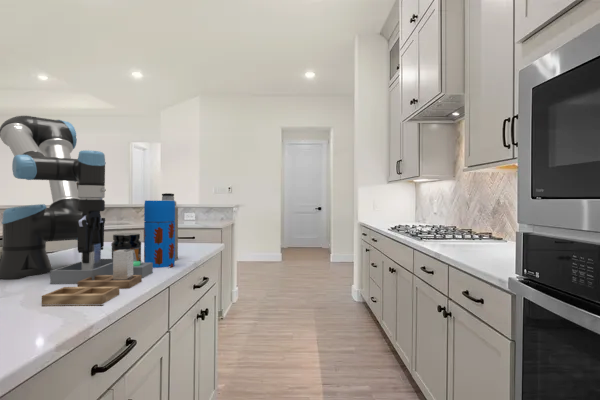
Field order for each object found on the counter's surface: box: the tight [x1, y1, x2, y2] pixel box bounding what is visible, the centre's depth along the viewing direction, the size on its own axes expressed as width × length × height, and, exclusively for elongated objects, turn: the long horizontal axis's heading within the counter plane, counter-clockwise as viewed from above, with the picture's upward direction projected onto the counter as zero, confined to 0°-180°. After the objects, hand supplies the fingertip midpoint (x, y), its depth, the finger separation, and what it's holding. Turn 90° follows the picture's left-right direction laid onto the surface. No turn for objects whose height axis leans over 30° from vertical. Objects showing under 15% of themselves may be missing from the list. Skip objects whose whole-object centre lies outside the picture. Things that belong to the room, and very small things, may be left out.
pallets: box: [41, 275, 143, 307], centre depth 99 cm, size 14×24×2 cm, turn 2°
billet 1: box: [80, 243, 102, 270], centre depth 119 cm, size 4×4×10 cm
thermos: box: [143, 200, 176, 269], centre depth 139 cm, size 11×11×25 cm
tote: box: [49, 258, 113, 285], centre depth 118 cm, size 12×22×4 cm, turn 2°
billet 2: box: [113, 249, 133, 280], centre depth 107 cm, size 4×4×10 cm
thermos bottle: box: [160, 192, 179, 261], centre depth 155 cm, size 8×8×28 cm
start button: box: [133, 261, 140, 266], centre depth 120 cm, size 4×4×3 cm
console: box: [133, 262, 154, 279], centre depth 120 cm, size 9×9×4 cm
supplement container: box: [110, 232, 142, 263], centre depth 142 cm, size 10×10×12 cm
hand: (91, 271), depth 119 cm, fingers closed on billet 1, 4 cm apart
